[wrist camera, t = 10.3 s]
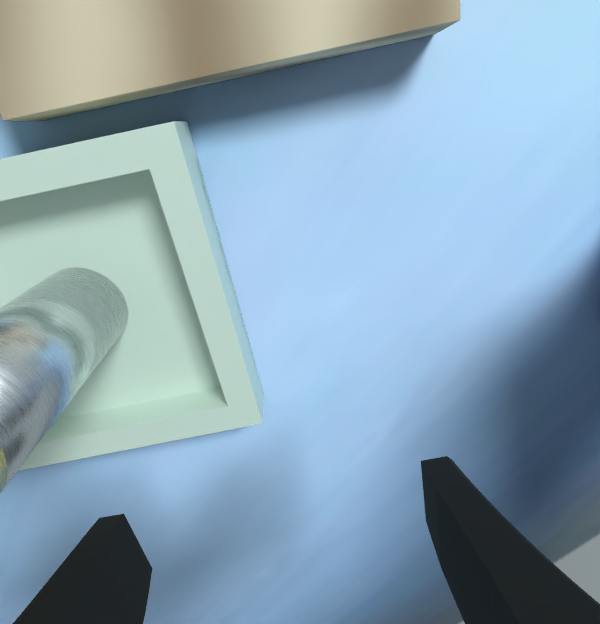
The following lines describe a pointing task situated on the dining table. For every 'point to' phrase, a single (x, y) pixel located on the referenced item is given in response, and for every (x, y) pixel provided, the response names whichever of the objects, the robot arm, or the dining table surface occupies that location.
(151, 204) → the sage tray
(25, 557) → the dining table surface
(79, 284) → the steel pin
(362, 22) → the hitch block
